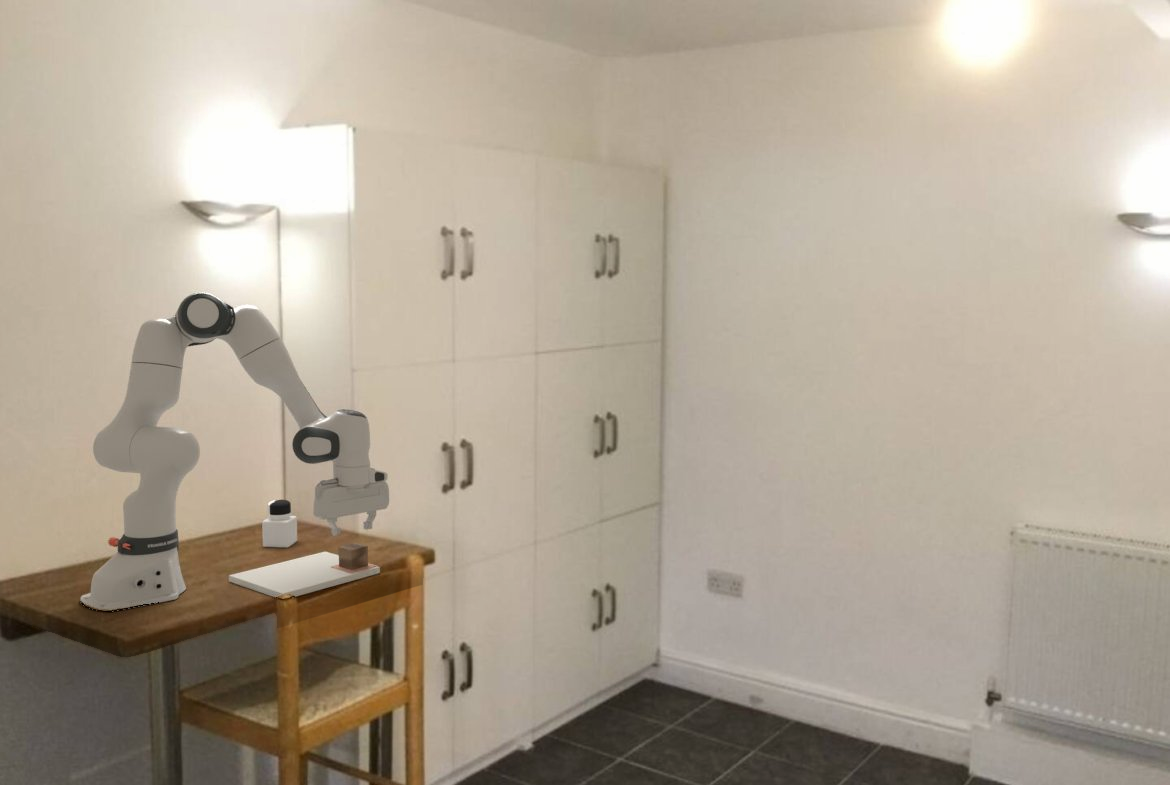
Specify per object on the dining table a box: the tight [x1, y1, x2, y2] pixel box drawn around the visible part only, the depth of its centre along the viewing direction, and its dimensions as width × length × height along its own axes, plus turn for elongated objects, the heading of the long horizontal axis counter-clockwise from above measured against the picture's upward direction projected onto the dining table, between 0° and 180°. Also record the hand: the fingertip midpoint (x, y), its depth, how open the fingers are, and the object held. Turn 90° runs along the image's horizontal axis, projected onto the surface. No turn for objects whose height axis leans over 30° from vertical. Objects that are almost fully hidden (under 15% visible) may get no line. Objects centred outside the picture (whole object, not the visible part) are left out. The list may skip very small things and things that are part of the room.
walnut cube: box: [338, 542, 369, 570], centre depth 263 cm, size 5×5×5 cm
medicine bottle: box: [261, 499, 298, 549], centre depth 290 cm, size 7×7×12 cm
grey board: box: [228, 551, 381, 599], centre depth 260 cm, size 28×22×2 cm
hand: (352, 532), depth 261 cm, fingers open, 8 cm apart
